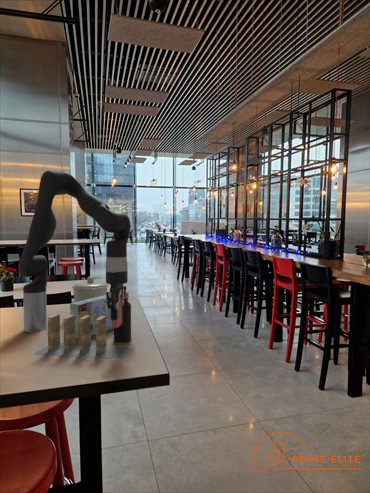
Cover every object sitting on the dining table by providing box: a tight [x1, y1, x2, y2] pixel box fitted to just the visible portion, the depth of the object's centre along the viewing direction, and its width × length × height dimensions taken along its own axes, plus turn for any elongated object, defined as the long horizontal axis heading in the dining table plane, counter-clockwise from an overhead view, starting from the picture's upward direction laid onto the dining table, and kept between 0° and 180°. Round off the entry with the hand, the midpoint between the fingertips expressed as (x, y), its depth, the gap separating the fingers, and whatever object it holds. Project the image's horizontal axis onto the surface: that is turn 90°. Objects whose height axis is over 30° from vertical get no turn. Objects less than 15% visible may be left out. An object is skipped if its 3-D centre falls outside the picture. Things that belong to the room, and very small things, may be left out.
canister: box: [71, 276, 110, 303], centre depth 160 cm, size 18×18×21 cm
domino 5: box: [112, 296, 122, 328], centre depth 110 cm, size 2×5×12 cm, turn 172°
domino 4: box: [95, 316, 107, 354], centre depth 112 cm, size 2×5×12 cm, turn 172°
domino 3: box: [79, 315, 92, 353], centre depth 112 cm, size 2×5×12 cm, turn 172°
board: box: [34, 342, 134, 360], centre depth 113 cm, size 32×12×1 cm, turn 82°
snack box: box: [69, 295, 114, 340], centre depth 135 cm, size 21×6×15 cm, turn 149°
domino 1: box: [47, 313, 61, 351], centre depth 114 cm, size 2×5×12 cm, turn 172°
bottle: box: [113, 290, 132, 344], centre depth 123 cm, size 7×7×20 cm
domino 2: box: [62, 314, 76, 352], centre depth 113 cm, size 2×5×12 cm, turn 172°
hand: (117, 317), depth 110 cm, fingers closed on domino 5, 5 cm apart
